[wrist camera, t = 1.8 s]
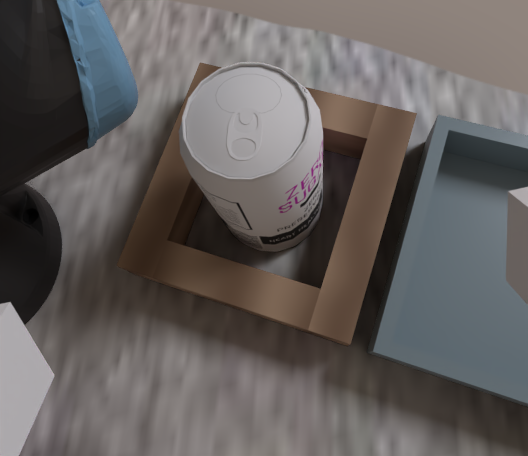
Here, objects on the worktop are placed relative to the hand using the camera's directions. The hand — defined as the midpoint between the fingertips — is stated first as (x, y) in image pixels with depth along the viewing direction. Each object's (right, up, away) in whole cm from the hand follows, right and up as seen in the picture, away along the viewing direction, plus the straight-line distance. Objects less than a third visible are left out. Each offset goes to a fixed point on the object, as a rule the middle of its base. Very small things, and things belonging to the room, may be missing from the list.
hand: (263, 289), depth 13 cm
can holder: (+1, +4, +27) cm, 27 cm away
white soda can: (+1, +3, +27) cm, 28 cm away
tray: (+20, -2, +23) cm, 30 cm away
